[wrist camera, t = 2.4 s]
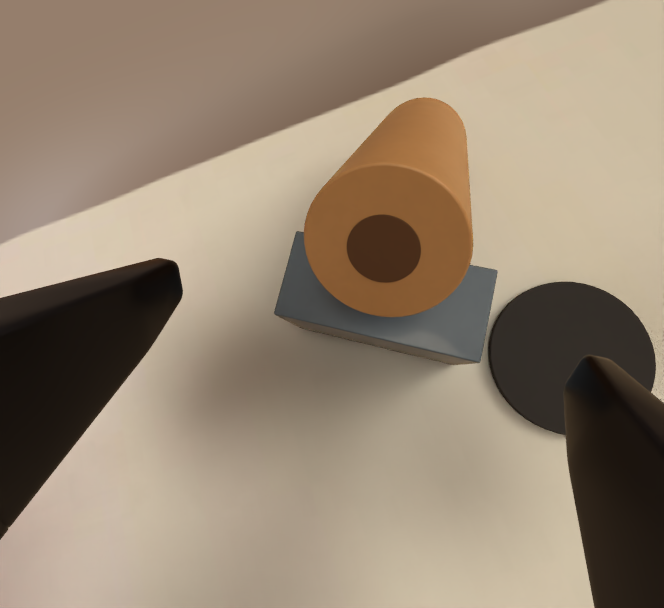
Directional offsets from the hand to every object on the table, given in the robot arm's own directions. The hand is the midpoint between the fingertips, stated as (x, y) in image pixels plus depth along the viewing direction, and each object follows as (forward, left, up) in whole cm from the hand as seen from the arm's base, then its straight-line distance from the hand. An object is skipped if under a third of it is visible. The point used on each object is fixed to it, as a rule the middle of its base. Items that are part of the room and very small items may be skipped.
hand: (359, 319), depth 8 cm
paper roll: (+6, +4, -13) cm, 15 cm away
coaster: (+8, -7, -13) cm, 17 cm away
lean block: (+2, +1, -13) cm, 14 cm away
